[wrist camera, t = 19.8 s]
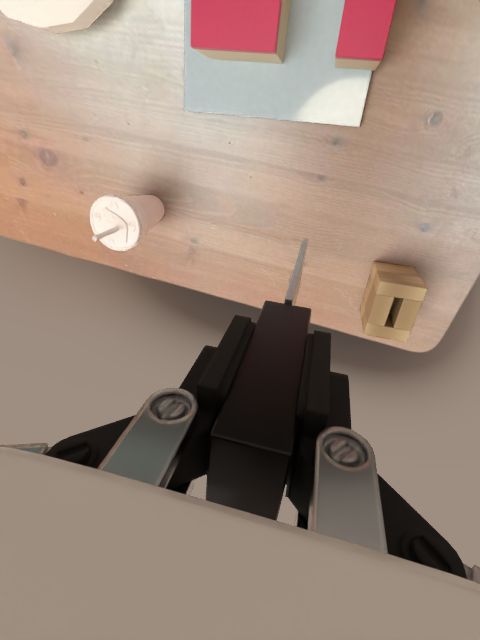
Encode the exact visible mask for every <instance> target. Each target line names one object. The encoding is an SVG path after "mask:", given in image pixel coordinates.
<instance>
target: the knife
mask: <svg viewBox="0 0 480 640" xmlns="http://www.w3.org/2000/svg"><path fill="white" fill-rule="evenodd" d="M307 243H308V239H306V238H303V241H302V245H301V248H300V251H299V255H298V258H297V261H296V265H295V268H294V271H293V275H292V278H291V281H290V285H289V288H288V291H287V295H286V298H285V303H284V304H282V303H277V302H272V301H265V303H264V305H263V307H262V310H261V313H260V315H259V317H258V320H257V322H256V326H255V329H254V331H253V333H252V336H251V338H250V341H249V343H248V345H247V348H246V350H245V353H244V355H243V358H242V360H241V362H240V365H239V367H238V370H237V372H236V375H235V377H234V379H233V382H232V384H231V387H230V389H229V392H228V394H227V396H226V398H225V399H224V401H223V403H222V406H221V408H220V411H219V413H218V415H217V418H216V420H215V423H214V425H213V427H212V430H211V432H210V438H209V454H208V470H207V487H206V500H207V501H210V502H213V503H217V504H220V505H224V506H227V507H231V508H234V509H238V510H241V511H244V512H248V513H251V514H255V515H258V516H262V517H265V518H268V519H272V520H275V521H277V517H278V513H279V508H280V504H281V500H282V496H283V492H284V488H285V484H286V480H287V475H288V471H289V467H290V463H291V459H292V454H293V447H294V439H295V431H296V424H297V415H296V412H297V405H298V397H299V390H300V383H301V376H302V369H303V361H304V354H305V347H306V340H307V334H308V332H309V324H310V317H311V309H310V308H304V307H299V306H295V303H296V298H297V294H298V290H299V285H300V280H301V275H302V270H303V264H304V259H305V254H306V249H307Z"/></svg>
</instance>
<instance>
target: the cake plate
mask: <svg viewBox="0 0 480 640" xmlns="http://www.w3.org/2000/svg"><path fill="white" fill-rule="evenodd" d="M344 4H345V0H291V3H290V12H289V20H288V28H287V37H286V45H285V53H284V62H283V64H276V63H262V62H247V61H232V60H217V59H210V58H208V57H207V56H205V55H203V54H202V53H200V52H198V51H197V50H195V49H193V48H192V47H191V0H185V9H184V111H191V112H201V113H212V114H222V115H233V116H244V117H254V118H265V119H275V120H286V121H296V122H307V123H318V124H328V125H339V126H349V127H360V122H361V118H362V113H363V109H364V104H365V100H366V96H367V91H368V87H369V82H370V78H371V73H372V70H359V69H345V68H335V54H336V48H337V43H338V37H339V32H340V26H341V21H342V15H343V9H344Z"/></svg>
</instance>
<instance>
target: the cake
mask: <svg viewBox="0 0 480 640" xmlns="http://www.w3.org/2000/svg"><path fill="white" fill-rule="evenodd" d="M290 3H291V0H191V47H192V48H193V49H195V50H197V51H198V52H200V53H202V54H203V55H205V56H207V57H208V58H210V59H217V60H232V61H247V62H262V63H276V64H283V62H284V53H285V45H286V37H287V28H288V20H289V12H290Z"/></svg>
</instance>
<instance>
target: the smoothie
mask: <svg viewBox="0 0 480 640" xmlns="http://www.w3.org/2000/svg"><path fill="white" fill-rule="evenodd" d="M164 212H165V210H164V205H163V203H162V201H161V200H160V199H159V198H158V197H156V196H154V195H136V196H121V195H118V194H107V195H105V196H103V197H100V198H99V199H97V200H96V201H95V202H94V204H93V205H92V207H91V211H90V223H91V227H92V229H93V232H94V233H95V235H94V236H93V237H92V239H93V240H94V241H97V240H100V241H101V242H102V243H103V244H104V245H105V246H107V247H108V248H110V249H113V250H117V251H125V250H128V249H130V248H132V247H135V246H136V245H137V244H138V243H139V242H140V240H141V238H142V236H143V235H144V234H146V233H147V232H148V231H149V230H150V229H151V228H152V227H153V226H155V225H156V224H157V223H158V222H159V221H160V220H161V219H162V218H163V216H164Z"/></svg>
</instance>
